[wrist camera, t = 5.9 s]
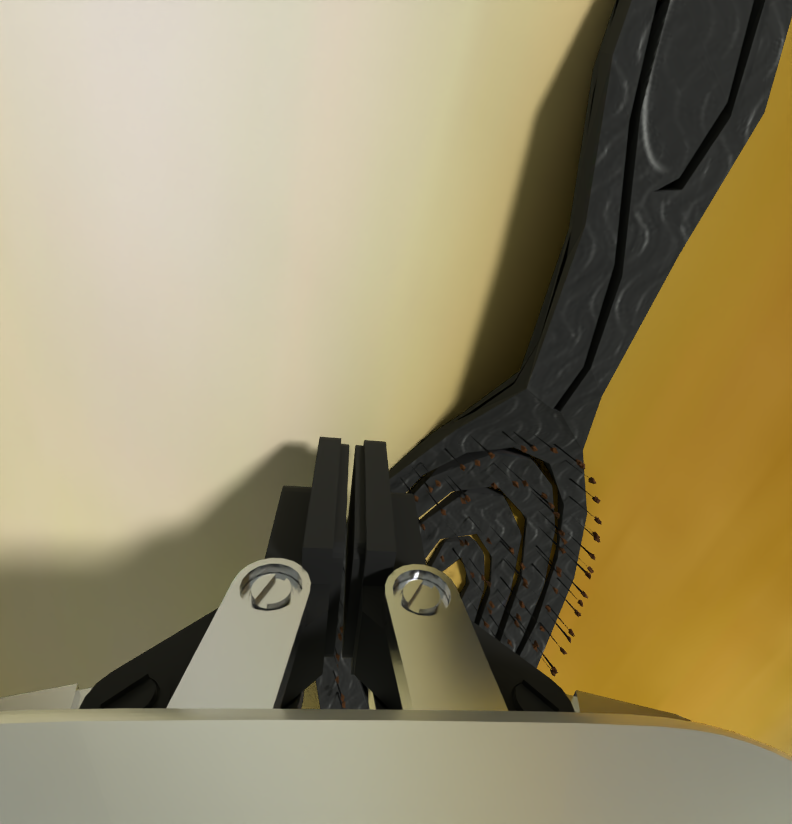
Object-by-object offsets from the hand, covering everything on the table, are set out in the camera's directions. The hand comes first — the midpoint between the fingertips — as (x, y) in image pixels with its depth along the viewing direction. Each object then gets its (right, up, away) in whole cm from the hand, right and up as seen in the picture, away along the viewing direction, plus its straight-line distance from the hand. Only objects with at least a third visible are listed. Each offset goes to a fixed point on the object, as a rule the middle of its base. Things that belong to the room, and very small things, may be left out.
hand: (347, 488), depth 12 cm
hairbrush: (+4, +1, +2) cm, 5 cm away
